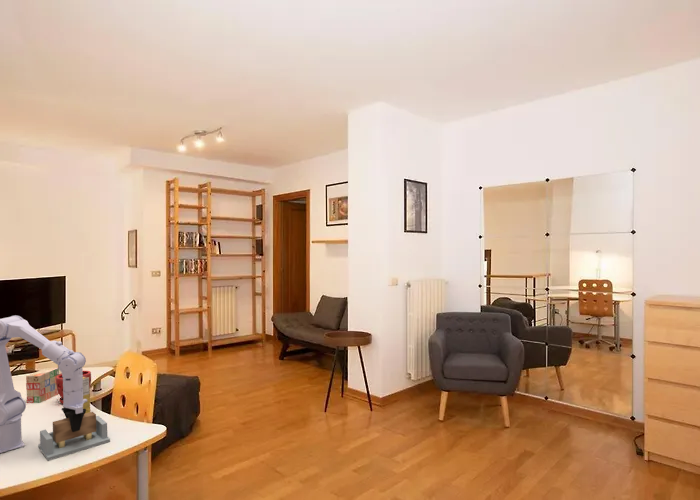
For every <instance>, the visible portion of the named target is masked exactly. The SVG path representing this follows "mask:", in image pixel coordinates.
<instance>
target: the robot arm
mask: <svg viewBox="0 0 700 500" xmlns="http://www.w3.org/2000/svg"><path fill="white" fill-rule="evenodd" d="M13 338H21V339H23V340H25V341H26V342H27V343H30V344H31V345H33V346H35V347H37V348H38V349H40V350H41V355H42V356H44V357H45V358H47V359H48V360H50V361H51V362H53V363H54V364H56V365H57V368H59V370H60V371H61V373H62V377H63V400H64V403H62V408H61V411H62V412H63V414H64V417H65V419H66V418H69V420H70V425H71V429H72V432H75V431H79V430H80V427H81V422H82V419H83V416H84V414H85V412H86V409H83V404H84V403H85V402H87V399H83V371H84V370H83V367H84V366H85V364H86V362H87V361H86V356H85V355H84V354H83V353H82V352H79V351H74V350H73V349H69V348H68V347H67V346H65V345H63V342H62V341H60V340H59V341H57V340H49V339H48V338H47V337H45V336H44V335H43V334H41V332H39V331H37V329H36V328H34V327H32V326H31V325H30V324H29V322H28V320H26V319H24V318H23V317H22V316H20V315H16V314H15V315H11V316H8V317H3V318H0V454H2V453H4V452H9V451H13V450H16V449H20V448H23V447H25V446H26V444H25V443H24V440H22V416H23V413H24V412H25V410H26V408H27V402H26V401H25V400H24V398H23V397H22V393H21V392H20V391H18V390H15V386H14V381H13V378H12V377H13V376H12V373H11V367H10V364H9V357H8V353H7V349H6V345H7V344H8V342H10V340H11V339H13Z"/></svg>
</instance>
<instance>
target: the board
mask: <svg viewBox="0 0 700 500" xmlns="http://www.w3.org/2000/svg"><path fill="white" fill-rule="evenodd" d="M96 416H97V414H96V413H95V412H94V411H90V412H89V413H85V414H84V416H83V419H82V422H81V427H80V430H79V431H75V432H72V429H71V425H70V420H69V418H66V417H65V418H63V419H59V420H53V421H52V432H53V440H54V441H55V443H58V442H61V441H65V440H68V439H72V438H75V437H79V436H82V435H86V434H89V433H93V432H96Z"/></svg>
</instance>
